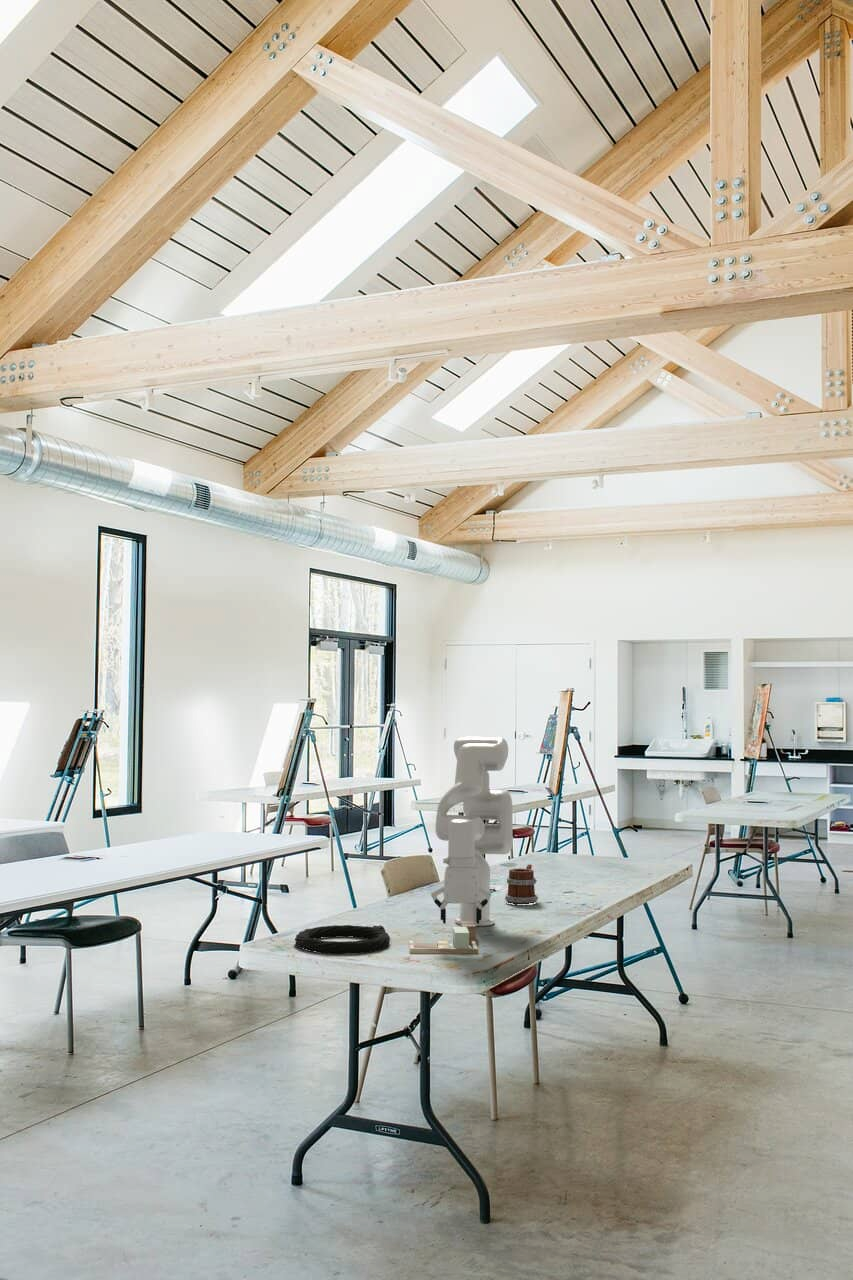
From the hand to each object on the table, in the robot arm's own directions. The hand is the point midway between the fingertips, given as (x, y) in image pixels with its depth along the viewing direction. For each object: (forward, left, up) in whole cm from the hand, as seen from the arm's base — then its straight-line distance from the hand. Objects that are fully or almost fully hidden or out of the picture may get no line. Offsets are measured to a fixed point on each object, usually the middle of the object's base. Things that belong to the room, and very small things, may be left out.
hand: (460, 922), depth 317 cm
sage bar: (+1, 0, -7) cm, 7 cm away
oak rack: (+1, -5, -7) cm, 9 cm away
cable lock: (-4, -33, -8) cm, 34 cm away
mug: (-78, +27, -7) cm, 83 cm away
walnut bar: (-11, +3, -7) cm, 13 cm away
